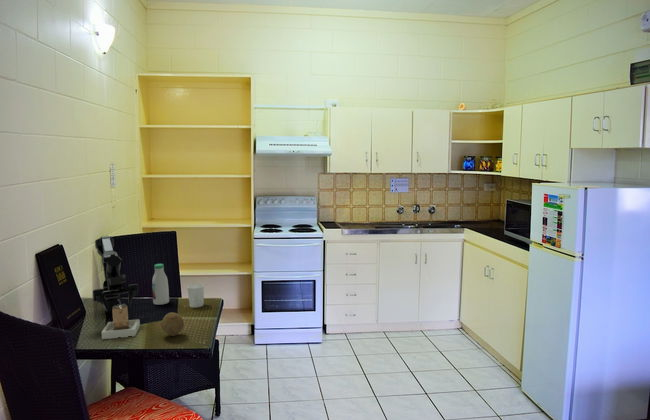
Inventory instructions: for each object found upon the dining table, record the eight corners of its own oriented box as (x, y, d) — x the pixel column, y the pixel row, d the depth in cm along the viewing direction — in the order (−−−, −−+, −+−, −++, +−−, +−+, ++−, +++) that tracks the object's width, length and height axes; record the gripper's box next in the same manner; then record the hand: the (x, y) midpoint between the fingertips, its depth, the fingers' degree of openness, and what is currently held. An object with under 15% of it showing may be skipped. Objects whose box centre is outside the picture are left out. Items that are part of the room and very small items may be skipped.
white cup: (207, 303, 253) (206, 284, 251) (199, 308, 245) (197, 288, 244) (194, 302, 255) (193, 283, 254) (185, 307, 248) (184, 287, 247)
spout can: (113, 328, 216) (111, 304, 215) (127, 326, 219) (126, 302, 218) (115, 334, 209) (113, 309, 208) (130, 331, 212) (128, 306, 211)
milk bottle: (171, 300, 260) (169, 262, 257) (165, 305, 252) (163, 266, 250) (157, 300, 261) (154, 262, 258) (150, 305, 253) (148, 266, 251)
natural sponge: (156, 338, 207) (155, 315, 206) (170, 330, 215) (168, 308, 214) (175, 340, 204) (173, 317, 203) (188, 333, 212) (186, 310, 211)
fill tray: (102, 339, 207) (101, 332, 207) (108, 328, 220) (108, 321, 220) (135, 336, 210) (134, 329, 210) (139, 325, 223) (139, 319, 222)
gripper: (91, 272, 217) (95, 303, 209) (136, 266, 226) (142, 296, 218) (91, 285, 225) (95, 316, 217) (135, 279, 234) (140, 308, 226)
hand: (118, 308), depth 219 cm, fingers open, 9 cm apart
